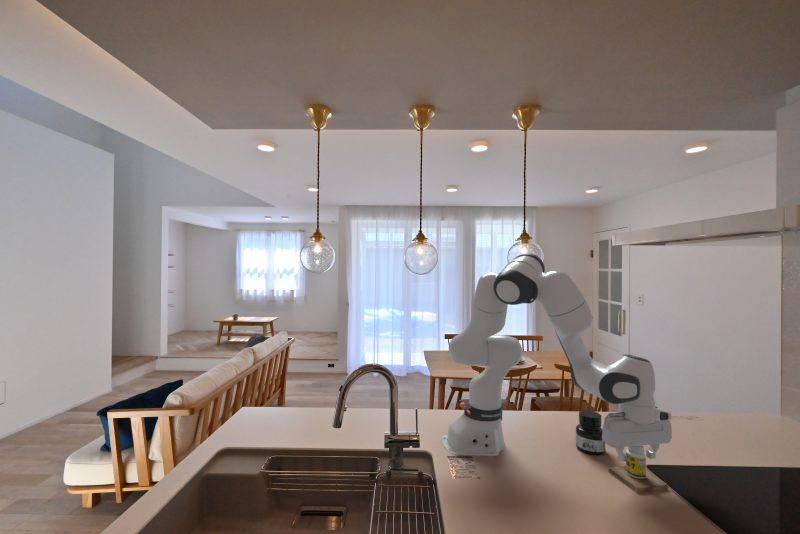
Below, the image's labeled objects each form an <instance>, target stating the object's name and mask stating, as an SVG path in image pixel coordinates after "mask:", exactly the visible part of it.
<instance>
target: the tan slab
mask: <svg viewBox="0 0 800 534" xmlns="http://www.w3.org/2000/svg"><path fill="white" fill-rule="evenodd" d="M608 473H610V475H612V476H614V477H615V478H616V479H617V480H619V481H620V482H622V483H623V484H624V485H626V486H627V487H628V488H630V489H631V490H632V491H634V492H635V493H637V494H639V493H647V492H655V491H656V492H657V491H664V490H668V489H669V488H668V487H669V484H668V483H666V482H665V481H663V480H662V479H660V478H659V477H657V476H655V475H654V474H652V473H651V472H649V471H647V470H646V477H645V478H644V479H638V478H634V477H632V476H630V475H629V474H627V472H626V465H622V466H613V467H608Z"/></svg>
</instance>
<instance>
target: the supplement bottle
mask: <svg viewBox="0 0 800 534" xmlns="http://www.w3.org/2000/svg"><path fill="white" fill-rule="evenodd" d="M625 454H626V455H627V461H625V466H626V472H627V474H629V475H630V476H632V477H634V478H638V479H644V478H645V477H646V471H647V470H646V469H647V467H646V465H647V464H646V462H647V460H646V457H647V456H646V454H645V448H644V445H639V446H627V447H626V450H625Z"/></svg>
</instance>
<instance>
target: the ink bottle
mask: <svg viewBox="0 0 800 534" xmlns="http://www.w3.org/2000/svg"><path fill="white" fill-rule="evenodd" d="M602 432H603V428H602V414H601V413H599V412H597V411H594V410H590V409H589V410H588V409H581V410H579V412H578V424H577V425H576V426H575V446H576V448H577V449H578V450H579V451H582V452H583V453H587V454H590V455H594V456H600V455H601V456H602V455H603V454H604V453H606V443H605V442H604V441H603V439H602Z"/></svg>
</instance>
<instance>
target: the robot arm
mask: <svg viewBox="0 0 800 534" xmlns="http://www.w3.org/2000/svg"><path fill="white" fill-rule="evenodd" d="M545 268H546V267H545V264H544V261H543V260H542V259H541V258H540V257H539V256H538V255H536V254H533V253H522V254H519V255H517V256H516V257H514V258H513V259H512V260H511V261H509V263H507V264H506V265H505V267H504V268H503V269H502V270H501V272H499V273H498V272H486V273H484V274H481V276H480V277H479V279H478V282H477V284H476V287H475V290H474V291H475V292H474V297H473V298H474V299H473V304H472V305H473V306H472V307H473V308H472V313H471V318H470V320H469V323H468V325H467V327H465V328H464V330H463V331H461V333H459V334H457V335H455V336H453V337H452V339H451V340H450V342H449V344H448V354H449V356H450V358H451V360H452V361H453V363H455V364H458V365H463V366H466V367H468V366H469V367H471V366H472V367H475V366H477V367H484V370H483V371H482V372H481V373H479V374H477V375H475V376H473V377H472V379H470V382H469V385H468V387H469V391H468V392H469V393H468V399H469V401H468V402H467V403H465V402H463V401H462V402H460V403H459V407H460V408H461V410H463V413H462V414H461V415H460V416H459V417H457V418H456V419H455V420H453V421H452V422H451V423H449V425H448V428H447V429H448V430H447V434H443V435H442V437H441V440H440V441H441V443H442V446H443V447H444V448H445V449H446V451H448V452H449V453H451V455H452V454H453V455H457V456H483V457H484V456H485V457H487V456H488V457H498V456H499V455H500V453H501V451H503V450H504V449H505V448H506V443H505V442H506V441H505V438H504V434H503V426H502V424H503V423H502V421H503V406H502V389H503V383H504V380H505V378H506V376H507V374H508V373H509V372H510V371H511V369H513V367H515V366H516V365H518V364H519V362H521V359H522V358H523V347H522V344H521V343H520V341H519V339H518V338H516V337H513V336H510V335H505V334H504V335H503V334H498V333H500V332H501V331H502V330H503V329H504V327H505V326H506V320H507V313H508V306H509V305H511V306H516V305H522V304H533V303H534V302H535V301H536V300H537V301H538V302H539V304H541V306H542V308H543V310H544V312H545V313H546V316H547V317H548V318H549V321H550V322H551V324H552V326H553V328H554V332H555V334H556V337H557V339H558V341H559V343H560V345H561V348H562V351H563V353H564V355H565V356H566V358H567V361H568V364H569V372H570V377H571V380H572V383H573V384H574V385H575V386H576V387H577V388H578V389H579V390H582V391H584V392H587V393H589V394H591V395H592V396H594V397H597V398H599V399H601V400H603V401H604V402H607V403H608V404H612V405H618V412H609V413H608V414H607V415H605V417H604V422H603V425H602V429H603V432H602V439H603V441H604V442H605V445H608V446H609V447H611V448H614V449H615V451H616V452H617V459H618V460H619V461H620V462H626V461H627V455H626V453H624V451H625V447H626V448H627V446H639V445H642V446H649V447H648V449H646V450H645V453H646V454H645V456H646V457H647V458H648V459H650V460H653V459H656V454H657V452H658V451H659V449H660V445H662V444H664V445H665V444H670V442H671V441H672V439H673V435H672V434H673V430H672V423H671V419H672V413H671V412H669V411H667V410H666V409H663V408H661V407H659V406H656V402H655V399H654V394H655V392H656V378H655V377H656V376H655V371H654V366H653V363H652V362H651V361H650V360H649V359H646V358H644V357H641V356H636V355H633V354H627V353H626V354H622V355H621V356H620V358H619V359H618V360H616V361H615V362H613V363H611V364H609V365H605V364H602V363H600V362H598V361H597V360H595V359H594V358H592V356H590V355H589V353H588V350H587V349H586V346H585V344H584V342H583V339H582V336H581V334H583V333H585V332H587V330H588V329H589V328H590V327H591V325H592V322H593V313H592V310H591V308H590V305H589V304H588V302H587V300H586V299H585V297H584V295H583V293H582V292H581V290H580V289H579V287H578V286H577V284H576V283H575V282H574V281H573V279H572V278H571V277H570V276H569V275H568V274H567V273H566V272H565V271H562V270H550V271H547V272H546V271H545V270H546V269H545Z"/></svg>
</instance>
